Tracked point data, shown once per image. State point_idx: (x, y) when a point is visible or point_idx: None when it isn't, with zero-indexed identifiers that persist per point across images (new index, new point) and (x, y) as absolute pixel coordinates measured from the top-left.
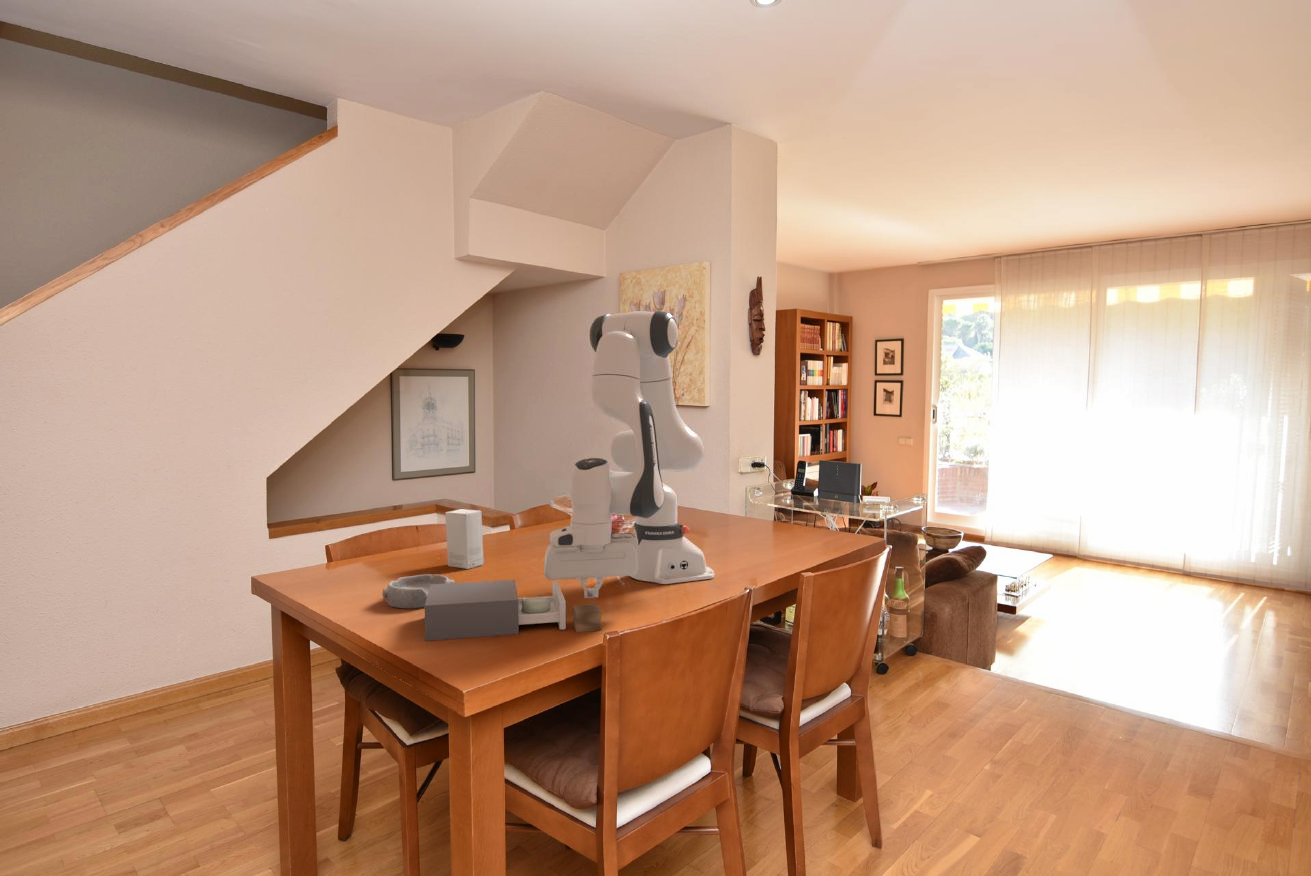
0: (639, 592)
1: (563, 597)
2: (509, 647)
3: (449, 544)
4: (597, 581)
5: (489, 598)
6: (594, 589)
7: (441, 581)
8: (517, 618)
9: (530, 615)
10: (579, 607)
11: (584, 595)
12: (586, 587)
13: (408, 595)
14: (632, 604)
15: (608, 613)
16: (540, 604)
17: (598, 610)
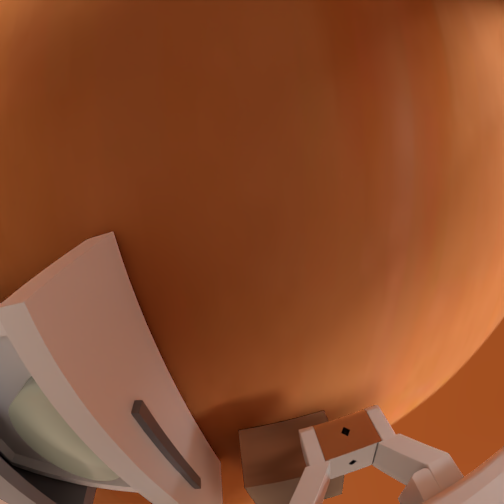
0: (477, 27)
1: None
2: (127, 497)
3: None
4: (399, 497)
5: (13, 501)
6: (369, 461)
7: None
8: (92, 493)
9: (111, 488)
10: (271, 494)
11: (301, 441)
12: (323, 496)
13: None
14: (476, 180)
15: (384, 311)
16: (106, 478)
17: (335, 494)
